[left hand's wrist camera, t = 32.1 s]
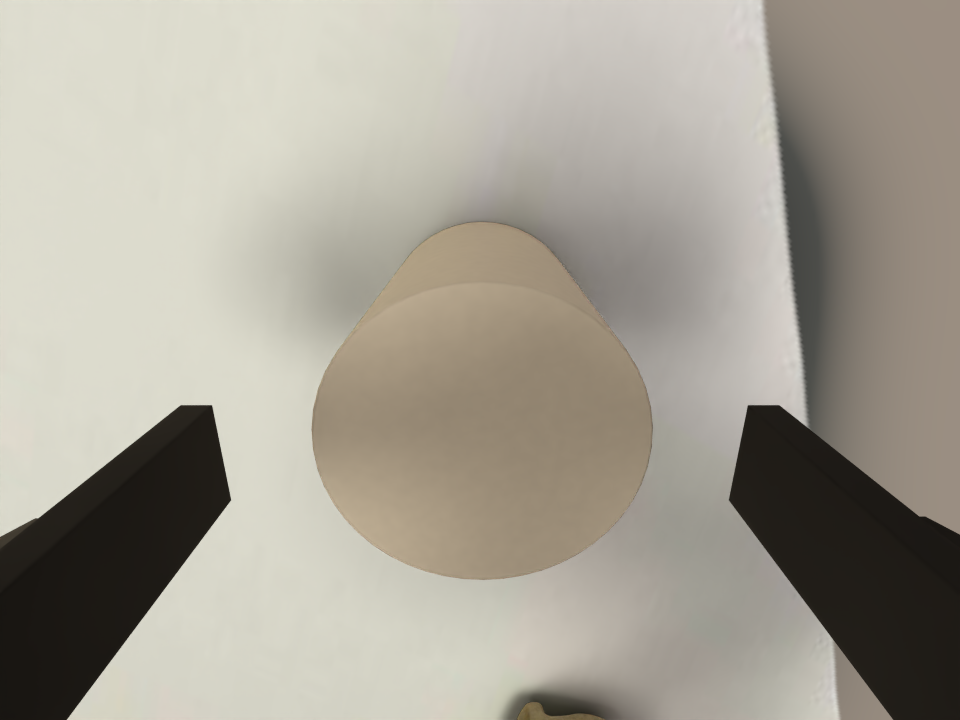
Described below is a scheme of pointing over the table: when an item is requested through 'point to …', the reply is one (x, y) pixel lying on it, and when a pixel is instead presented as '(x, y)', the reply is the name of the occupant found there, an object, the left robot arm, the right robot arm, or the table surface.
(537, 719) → the sculpture
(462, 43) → the table surface
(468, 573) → the can
